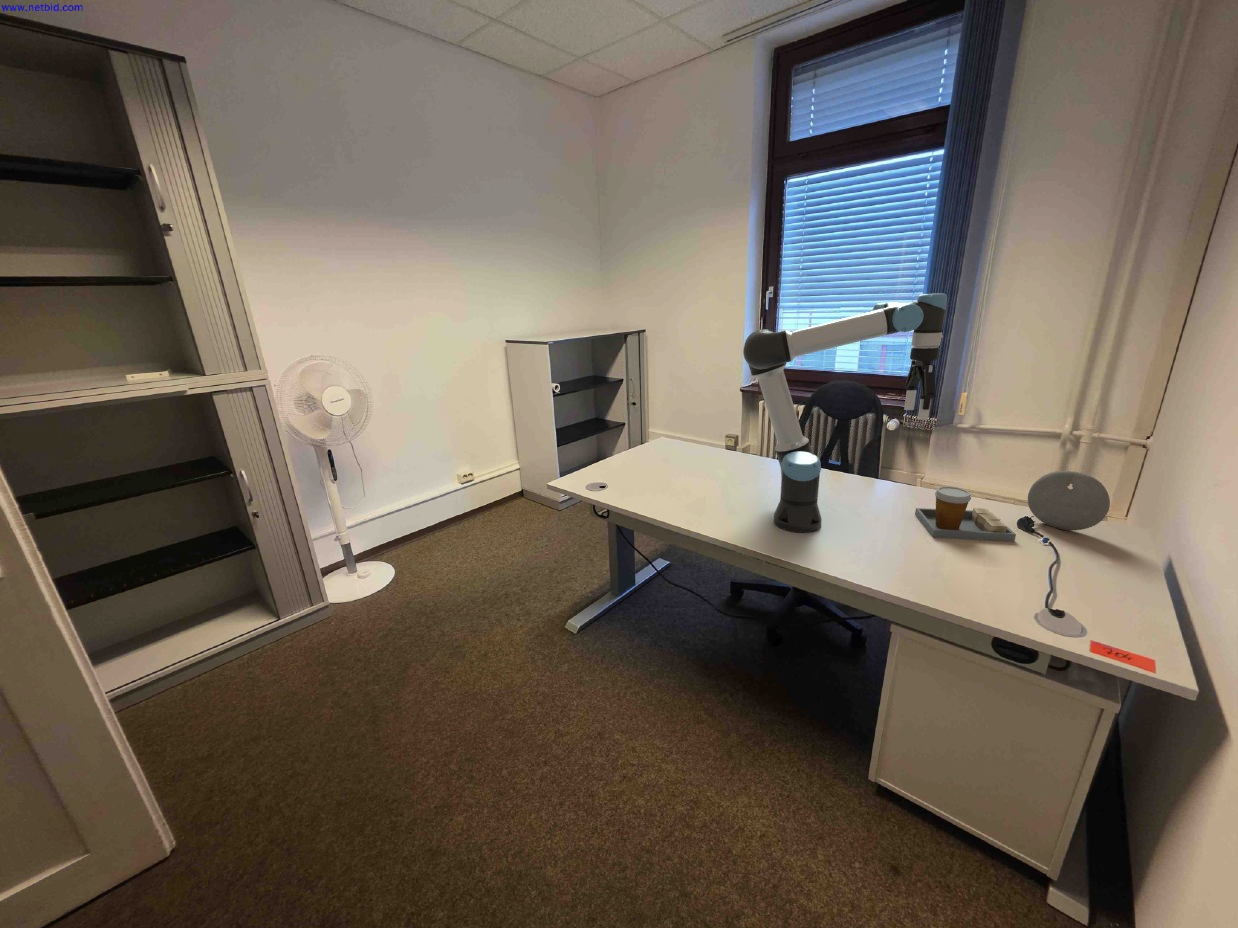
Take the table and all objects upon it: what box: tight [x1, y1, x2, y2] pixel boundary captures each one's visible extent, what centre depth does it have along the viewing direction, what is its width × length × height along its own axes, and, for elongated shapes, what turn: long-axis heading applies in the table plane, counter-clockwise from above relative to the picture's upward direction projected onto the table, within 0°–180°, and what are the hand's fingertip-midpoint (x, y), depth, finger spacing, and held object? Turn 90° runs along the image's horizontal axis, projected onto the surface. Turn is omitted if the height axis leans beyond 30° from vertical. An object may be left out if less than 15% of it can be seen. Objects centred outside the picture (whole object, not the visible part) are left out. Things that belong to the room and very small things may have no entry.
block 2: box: [976, 513, 1001, 530], centre depth 152 cm, size 4×4×4 cm
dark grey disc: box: [1027, 470, 1111, 531], centre depth 149 cm, size 18×7×19 cm, turn 44°
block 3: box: [983, 520, 1008, 533], centre depth 148 cm, size 4×4×4 cm
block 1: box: [971, 507, 993, 524], centre depth 157 cm, size 4×4×4 cm
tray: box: [914, 507, 1017, 543], centre depth 154 cm, size 22×17×3 cm
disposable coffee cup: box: [934, 486, 972, 530], centre depth 154 cm, size 10×10×12 cm
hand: (915, 414), depth 156 cm, fingers open, 13 cm apart
